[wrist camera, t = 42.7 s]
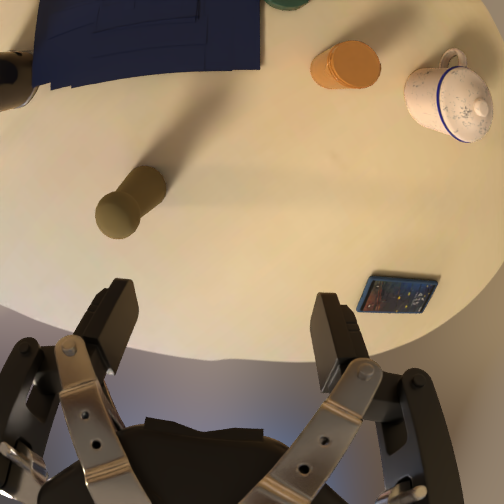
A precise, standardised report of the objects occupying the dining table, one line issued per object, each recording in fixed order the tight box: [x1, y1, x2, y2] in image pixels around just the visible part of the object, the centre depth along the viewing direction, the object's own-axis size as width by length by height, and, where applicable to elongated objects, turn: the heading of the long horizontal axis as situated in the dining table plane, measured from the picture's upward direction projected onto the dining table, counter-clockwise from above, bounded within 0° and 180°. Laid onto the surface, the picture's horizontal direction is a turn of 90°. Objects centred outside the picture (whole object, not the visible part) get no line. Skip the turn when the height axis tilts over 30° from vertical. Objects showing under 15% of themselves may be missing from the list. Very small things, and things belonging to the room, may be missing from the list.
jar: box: [310, 40, 381, 89], centre depth 24 cm, size 5×5×10 cm
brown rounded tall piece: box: [95, 166, 167, 239], centre depth 31 cm, size 6×6×11 cm
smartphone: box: [356, 276, 438, 313], centre depth 45 cm, size 8×1×15 cm
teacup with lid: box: [404, 48, 493, 143], centre depth 23 cm, size 12×9×12 cm
